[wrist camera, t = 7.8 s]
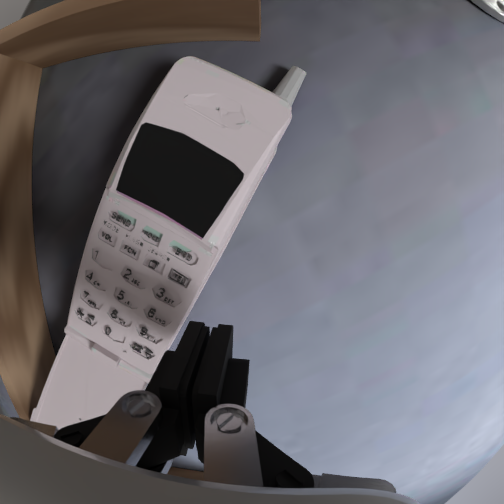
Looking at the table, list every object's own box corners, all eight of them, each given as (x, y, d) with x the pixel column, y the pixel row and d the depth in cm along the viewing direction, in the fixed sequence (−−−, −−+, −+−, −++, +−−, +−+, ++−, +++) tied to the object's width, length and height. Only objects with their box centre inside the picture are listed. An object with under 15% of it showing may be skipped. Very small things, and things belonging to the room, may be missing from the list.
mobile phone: (27, 434, 13) (183, -27, 7) (64, 385, 18) (209, 35, 12) (106, 483, 13) (351, 41, 7) (131, 425, 19) (317, 86, 13)
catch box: (34, 58, 12) (-17, 39, 7) (260, 25, 12) (260, -31, 7) (82, 448, 20) (61, 485, 15) (233, 480, 20) (229, 528, 15)
